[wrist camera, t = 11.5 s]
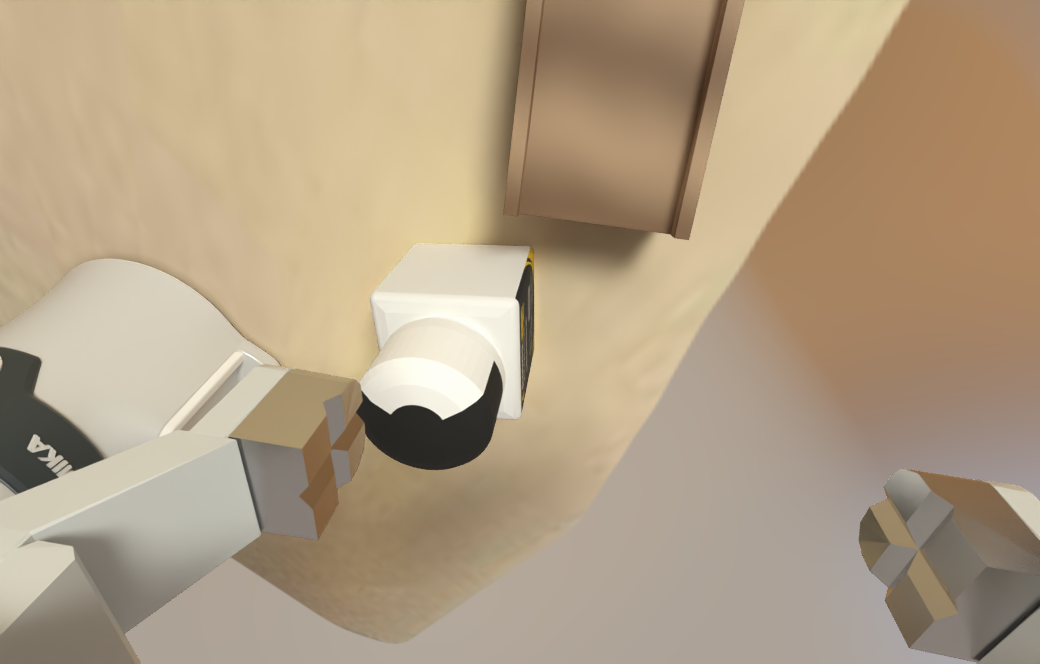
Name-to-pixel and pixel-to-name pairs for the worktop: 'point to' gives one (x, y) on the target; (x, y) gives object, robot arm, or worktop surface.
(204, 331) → the robot arm
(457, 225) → the worktop surface
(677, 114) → the launch ramp
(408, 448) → the medicine bottle
